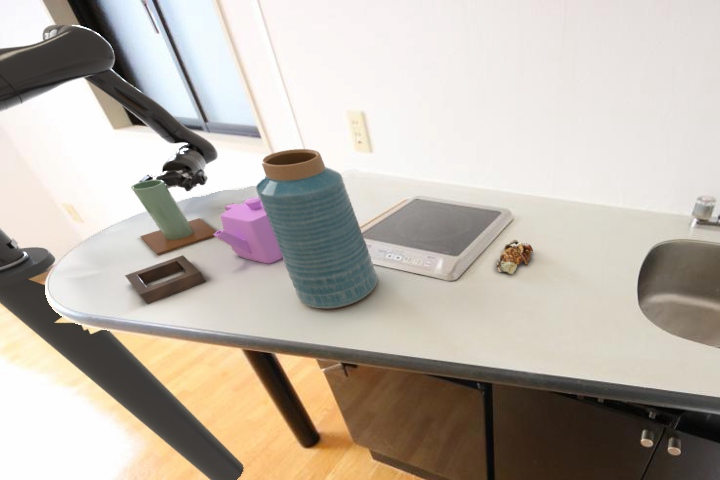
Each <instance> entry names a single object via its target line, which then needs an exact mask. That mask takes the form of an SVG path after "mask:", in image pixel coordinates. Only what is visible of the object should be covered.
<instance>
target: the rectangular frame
mask: <svg viewBox="0 0 720 480" xmlns="http://www.w3.org/2000/svg"><path fill="white" fill-rule="evenodd" d="M182 271H184V273H183V274H180V275H178V276H177V275H176V276H174V277H171V278H169V279H166V280H164V281H160V282H158V283H156V284H152V285H151V286H147V284H149V283H152V282H155V281H157V280H160V279H163V278H166V277H169V276H171V275H173V274H177V273H179V272H182ZM124 276H125V278H126V279H127V280H128V282H129V283H130V284H131V286H132V287H133V288H134V290H135V291H136V292H137V294H138V295H139V297H141V298H142V300H143V301H144V302H145V303H146V304H147V305H150V304H153V303H155V302H158V301H160V300H163V299H165V298H168V297H171V296H173V295H175V294H178V293H180V292H183V291H186V290H188V289H191V288H193V287H196V286H198V285H201V284H203V283H206V282H207V279H206V278H205V277H204V275H203V273H202V272H201V271H200V270H199V269H198V268H197V267H196V266H195V265H194V264H193V263H192V262H191V261H190V260H189V259H188V258H186V256H185V255H179V256H176V257H174V258H171V259H168V260H165V261H162V262H160V263H159V262H158V263H156V264H153V265H151V266H148V267H145V268H142V269H139V270H137V271H133V272H131V273H127V274H125V275H124Z"/></svg>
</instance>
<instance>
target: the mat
mask: <svg viewBox="0 0 720 480" xmlns="http://www.w3.org/2000/svg"><path fill="white" fill-rule="evenodd" d="M187 221H188V220H187ZM188 222H189V224H190V225H191V227H192V229H193V233H192V234H191V235H189V236H187V237H185V238H181V239H176V240H169V239H166V238H165V236H164V235H163V233H162V232H161V231H160V229H159V230H156V231H152V232H150V233H146V234H143V235H140V236H139V237H140V238H141V239H142V240H143V242H145V243H146V244H147V245H148V247H149V248H150V249H151V250H152V251H153V252H154V254H156V255H157V256H161V255H164V254H167V253H170V252H172V251H175V250H179V249H182V248H184V247H187V246H190V245H194V244H197V243H200V242H202V241H206V240H208V239H211V238H215V236H214V235H213V234H214V233H216V232H217V231H218V230H216V229H214V228H213V227H211V226H210V225H209V224H207V223H206V222H205V221H204V220H202V219H201V218H199V217H198V218H195V219H192V220H189V221H188Z"/></svg>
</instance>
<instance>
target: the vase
mask: <svg viewBox="0 0 720 480" xmlns="http://www.w3.org/2000/svg"><path fill="white" fill-rule="evenodd" d="M261 165H262V168H263V172H264V173H265V176H264V177H263V178H261V180H260V181H259V182H257V184H256V187H255V189H256V194H257V195H258V197H259V198H260V201H261V202H262V205H263V207H264V211H265V212H266V216H267V218H268V221H269V224H270V226H271V229H272V231H273V233H274V236H275V239H276V241H277V244H278V246H279V249H280V251H281V254H282V257H283V258H282V259H283V263H284V265H285V268H286V271H287V273H288V277H289V279H290V280H291V283H292V286H293V288H294V291H295V293H296V296H297V298H298V299H299V301H300V302H302V303H303V304H305V305H306V306H307V307H308V306H309V307H310V308H311V307H312V308H316V309H339V308H343V307H347V306H350V305H353V304H355V303H358V302H359V301H361V300H362V299H364V298H365V297H367V296H369V294H371V293H372V292H373V290H374V289H375V287H376V285H377V283H378V275H377V271H376V269H375V268H374V263H373V261H372V256H371V254H370V252H369V248H368V246H367V243H366V241H365V238H364V236H363V233H362V230H361V228H360V227H361V226H360V224H359V221H358V219H357V215H356V213H355V210H354V206H353V204H352V202H351V198H350V194H349V193H348V190H347V188H346V183H345V182H344V178H343V175H342V174H341V173H340V172H339V171H338V170H335V169H333V168H330V167H329V166H326V165H325V163H324V160H323V157H322V155H321V153H320V152H319V151H317V150H315V149H310V148H309V149H308V148H307V149H306V148H297V149H288V150H287V149H286V150H281V151H277V152H273V153H271V154H268V155H266V156H264V157H263V158H262V159H261Z"/></svg>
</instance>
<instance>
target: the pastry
mask: <svg viewBox="0 0 720 480" xmlns="http://www.w3.org/2000/svg"><path fill="white" fill-rule="evenodd" d="M513 244H514V245H513ZM512 245H513V246H512ZM533 252H534V249H533V247H532V245H531V244H528V243H527V242H525V243H523V242H522V241H519V240H517V239H513V240H512V241H510V242H509V243H506V244H505V246H504V249H503V251H502V252H501V254H500V255H499V260H498V261H497V263H496V269H497V271H498V272H500V273H501V272H506V273H508V275H514V273H515V272H516V271H517V267H518V265H521V264H522V262H524V263H525V265H526V266H528V265H529V261H530V260H531V253H533Z"/></svg>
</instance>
